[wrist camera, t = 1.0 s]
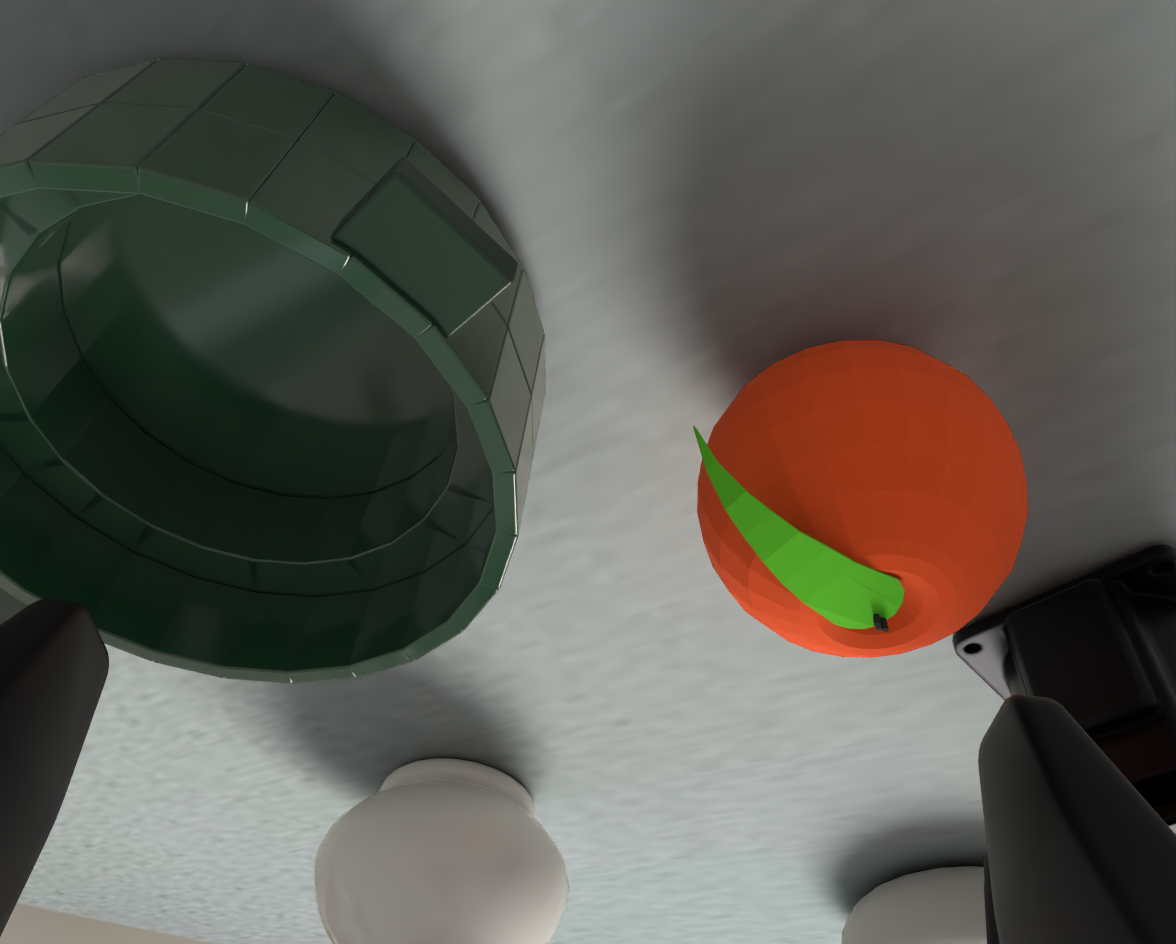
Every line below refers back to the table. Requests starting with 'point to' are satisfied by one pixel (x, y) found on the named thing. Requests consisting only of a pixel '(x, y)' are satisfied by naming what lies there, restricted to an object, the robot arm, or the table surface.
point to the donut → (922, 910)
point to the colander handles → (415, 257)
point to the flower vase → (441, 862)
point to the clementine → (862, 498)
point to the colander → (245, 383)
